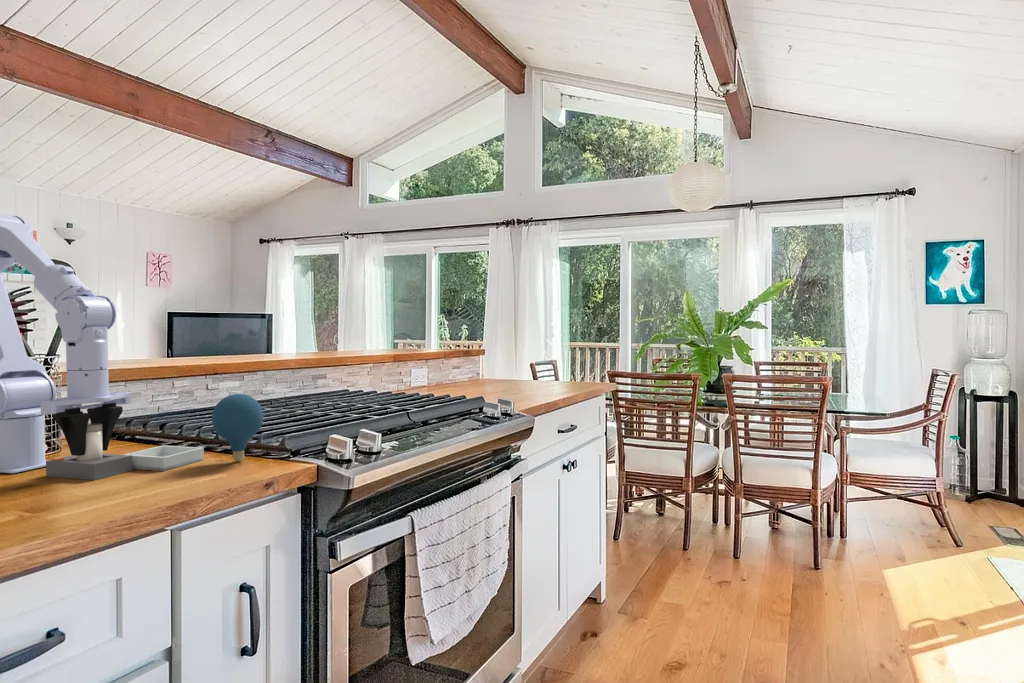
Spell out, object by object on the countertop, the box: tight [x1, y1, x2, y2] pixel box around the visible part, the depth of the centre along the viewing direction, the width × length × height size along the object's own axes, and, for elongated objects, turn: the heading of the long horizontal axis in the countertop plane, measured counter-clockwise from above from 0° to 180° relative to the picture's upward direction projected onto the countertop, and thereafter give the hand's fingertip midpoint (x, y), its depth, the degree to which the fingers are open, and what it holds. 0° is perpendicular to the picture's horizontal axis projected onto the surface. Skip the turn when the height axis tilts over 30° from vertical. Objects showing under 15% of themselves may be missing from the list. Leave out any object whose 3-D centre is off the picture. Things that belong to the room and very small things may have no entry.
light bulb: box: [211, 393, 264, 463], centre depth 114 cm, size 8×8×12 cm
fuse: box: [76, 422, 104, 462], centre depth 105 cm, size 4×4×8 cm
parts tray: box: [122, 444, 205, 472], centre depth 112 cm, size 9×9×2 cm
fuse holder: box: [45, 453, 133, 481], centre depth 105 cm, size 10×7×3 cm
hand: (89, 452), depth 105 cm, fingers closed on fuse, 4 cm apart
